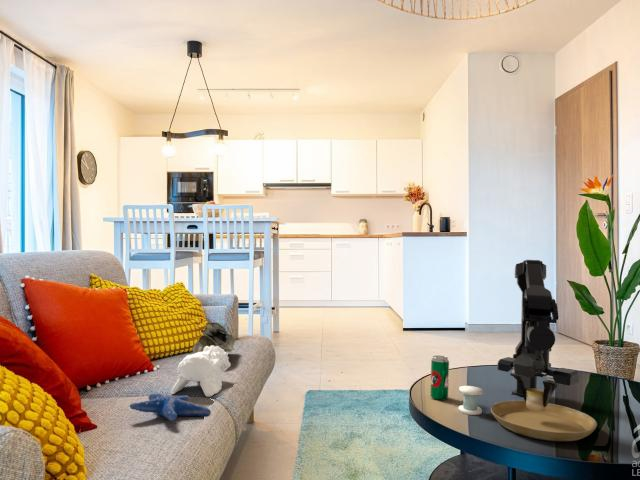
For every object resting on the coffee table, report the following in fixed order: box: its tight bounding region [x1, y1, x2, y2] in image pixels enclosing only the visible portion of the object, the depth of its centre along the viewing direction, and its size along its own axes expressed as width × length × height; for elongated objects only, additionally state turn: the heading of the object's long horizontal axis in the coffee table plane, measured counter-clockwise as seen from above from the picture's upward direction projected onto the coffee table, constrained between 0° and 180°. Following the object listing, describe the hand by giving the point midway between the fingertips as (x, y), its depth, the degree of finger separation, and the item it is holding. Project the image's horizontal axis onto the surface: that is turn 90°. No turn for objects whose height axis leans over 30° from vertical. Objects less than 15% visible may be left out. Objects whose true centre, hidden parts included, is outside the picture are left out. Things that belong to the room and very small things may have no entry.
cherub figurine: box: [170, 345, 232, 398], centre depth 148 cm, size 13×12×20 cm
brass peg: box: [526, 388, 545, 411], centre depth 127 cm, size 4×4×4 cm
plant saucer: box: [490, 400, 598, 442], centre depth 124 cm, size 24×24×3 cm
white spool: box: [458, 385, 483, 416], centre depth 134 cm, size 6×6×6 cm
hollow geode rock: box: [192, 321, 237, 354], centre depth 186 cm, size 28×13×15 cm
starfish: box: [129, 392, 212, 422], centre depth 124 cm, size 19×19×5 cm
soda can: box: [429, 354, 450, 401], centre depth 145 cm, size 5×5×12 cm
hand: (535, 404), depth 127 cm, fingers closed on brass peg, 4 cm apart
